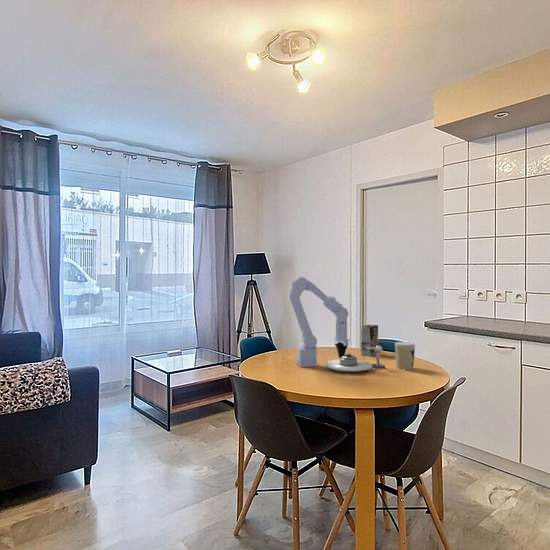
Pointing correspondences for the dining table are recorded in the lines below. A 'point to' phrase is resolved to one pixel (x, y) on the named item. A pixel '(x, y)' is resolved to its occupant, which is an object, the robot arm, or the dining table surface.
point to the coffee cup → (404, 355)
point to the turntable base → (349, 371)
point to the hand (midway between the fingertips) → (341, 357)
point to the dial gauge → (378, 350)
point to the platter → (359, 367)
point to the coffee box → (369, 339)
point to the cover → (348, 360)
